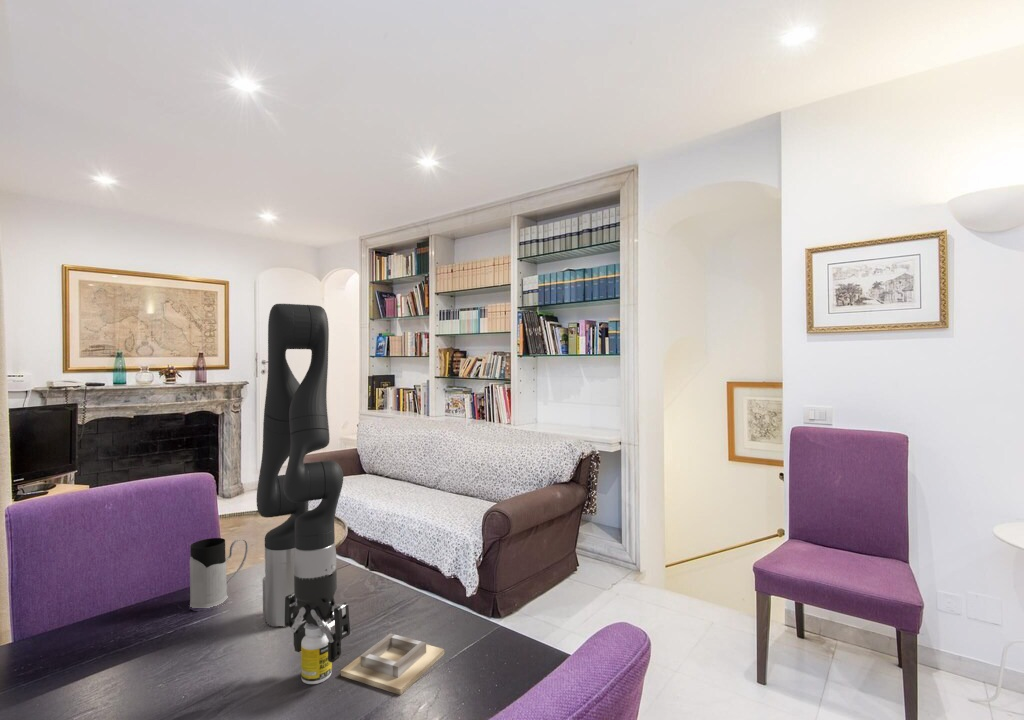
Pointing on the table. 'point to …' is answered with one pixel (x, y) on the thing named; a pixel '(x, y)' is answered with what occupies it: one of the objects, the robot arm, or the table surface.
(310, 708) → the table surface
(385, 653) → the socket stand
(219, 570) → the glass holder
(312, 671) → the supplement bottle
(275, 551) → the robot arm
